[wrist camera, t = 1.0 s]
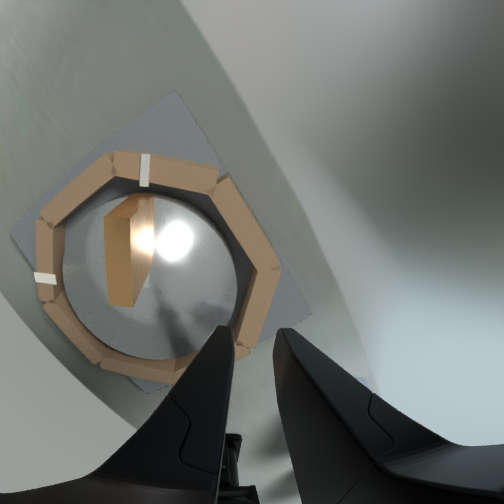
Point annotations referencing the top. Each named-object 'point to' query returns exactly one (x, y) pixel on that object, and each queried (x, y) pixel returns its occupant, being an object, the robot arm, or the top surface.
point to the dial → (150, 275)
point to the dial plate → (174, 183)
